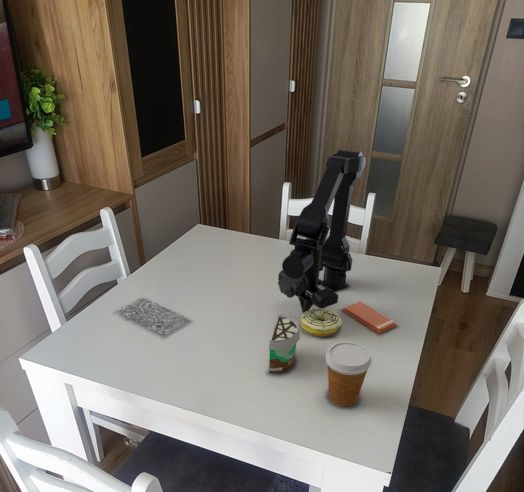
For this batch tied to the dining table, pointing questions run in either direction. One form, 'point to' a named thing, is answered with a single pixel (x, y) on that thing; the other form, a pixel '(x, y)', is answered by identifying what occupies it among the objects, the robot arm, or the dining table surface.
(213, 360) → the dining table surface
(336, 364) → the disposable coffee cup
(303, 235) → the robot arm
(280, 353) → the food container
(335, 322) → the decorated donut
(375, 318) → the orange flat bar
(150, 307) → the rug
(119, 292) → the dining table surface
